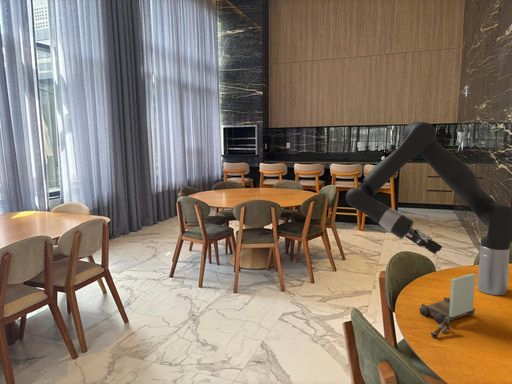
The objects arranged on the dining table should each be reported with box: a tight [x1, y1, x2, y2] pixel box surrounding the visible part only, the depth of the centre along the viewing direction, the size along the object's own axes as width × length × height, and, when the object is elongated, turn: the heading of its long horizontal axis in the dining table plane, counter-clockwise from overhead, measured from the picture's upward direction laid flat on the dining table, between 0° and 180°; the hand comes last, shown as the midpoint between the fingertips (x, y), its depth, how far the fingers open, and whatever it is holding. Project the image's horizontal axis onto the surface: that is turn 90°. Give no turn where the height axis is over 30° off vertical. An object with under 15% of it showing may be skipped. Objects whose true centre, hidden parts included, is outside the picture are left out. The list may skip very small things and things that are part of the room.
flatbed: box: [419, 296, 476, 325], centre depth 124 cm, size 14×10×3 cm
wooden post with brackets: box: [430, 317, 451, 339], centre depth 113 cm, size 2×8×4 cm, turn 124°
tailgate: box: [449, 273, 476, 317], centre depth 119 cm, size 10×1×12 cm, turn 117°
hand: (438, 250), depth 126 cm, fingers open, 8 cm apart
